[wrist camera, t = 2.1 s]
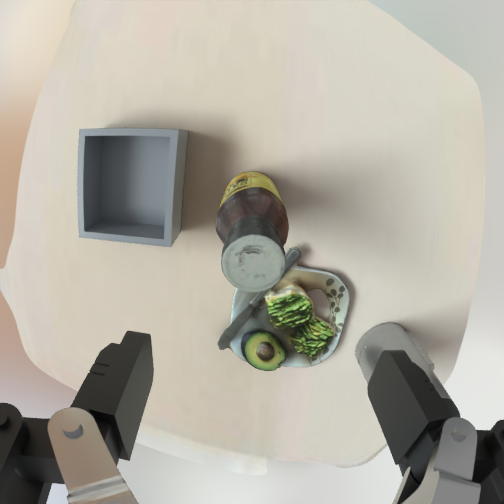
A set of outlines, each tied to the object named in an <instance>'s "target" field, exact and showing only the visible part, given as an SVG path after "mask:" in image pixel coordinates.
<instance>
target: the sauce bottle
mask: <svg viewBox="0 0 504 504" xmlns="http://www.w3.org/2000/svg"><path fill="white" fill-rule="evenodd" d="M288 229H289V224H288V218H287V214H286V210H285V207H284V205H283V202H282V200H281V198H280V196H279V193H278V191H277V188H276V187H275V185H274V183H273V182H272V181H271V180H270V179H269V178H268V177H267V176H265V175H263V174H262V173H259V172H243V173H241V174H239V175H237V176H236V177H234V178H233V179H232V180H231V181H230V183H229V184H228V186H227V188H226V190H225V193H224V196H223V198H222V201H221V204H220V207H219V209H218V212H217V216H216V231H217V234H218V235H219V237H220V239H221V240H222V242H223V243H224V247H223V251H222V261H221V263H222V271H223V273H224V275H225V277H226V278H227V280H228V281H229V282H230V283H231V284H232V285H233V286H234V287H236V288H237V289H239V290H242V291H246V292H260V291H266V290H267V289H270V288H272V287H273V286H274V285H276V284H277V283H278V282H279V281H280V279H281V278H282V276H283V274H284V271H285V269H286V256H285V251H284V247H283V246H284V244H285V243H286V240H287V236H288Z"/></svg>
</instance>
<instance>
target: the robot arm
mask: <svg viewBox="0 0 504 504" xmlns="http://www.w3.org/2000/svg"><path fill="white" fill-rule="evenodd" d="M356 358H357V361H358V363H359V365H360V367H361V370H362V372H363V374H364V377H365V379H366V381H367V383H368V396H369V399H370V401H371V404H372V406H373V409H374V411H375V414H376V416H377V418H378V421H379V423H380V426H381V428H382V431H383V433H384V436H385V438H386V441H387V444H388V446H389V448H390V451H391V454H392V456H393V459H394V462H395V464H396V465H397V464H399V467H400V470H401V473H402V476H403V479H402V482H401V485H400V487H399V489H398V492H397V494H396V497H395V499H394V502H393V504H504V420H500V421H498V422H497V423H496V424H495V425H494V426H493V428H492V429H491V430H489V431H488V430H476V429H475V427H474V426H473V425H472V424H471V423H470V422H469V421H467V420H465V419H463V418H460V413H459V411H458V409H457V407H456V405H455V404H454V402H453V401H452V399H451V398H450V396H449V395H448V393H447V392H446V390H445V389H444V387H443V386H442V384H441V383H440V381H439V380H438V378H437V377H436V375H435V374H434V372H433V370H434V364H433V363H432V361H431V360H430V359H429V357H428V356H427V354H426V353H425V352H424V350H423V349H422V347H421V346H420V345H419V343H418V342H417V340H416V339H415V338H414V336H413V335H412V334H411V332H410V331H405V330H404V329H403V328H402V327H401V326H400V325H398V324H394V323H385V324H381V325H378V326H376V327H374V328H372V329H371V330H370V331H368V332H367V333H366V334H365V335H364V336H363V337H362V338H361V340H360V341H359V343H358V345H357V348H356ZM153 373H154V368H153V357H152V345H151V336H150V334H146V333H140V332H134V331H127V332H126V334H125V336H124V338H123V340H122V342H121V343H120V344H115V343H111V344H109V345H108V346H107V347H105V348H104V349H103V350H101V351H100V353H99V355H98V357H97V358H96V360H95V363H94V364H93V366H92V367H91V369H90V373H88V375H87V377H86V378H85V380H84V382H83V384H82V386H81V388H80V390H79V391H78V393H77V395H76V397H75V399H74V401H73V403H72V405H71V407H70V408H64V409H61V410H59V411H57V412H56V413H55V414H53V416H52V417H51V418H50V419H40V418H26V417H22V415H21V413H20V412H19V410H18V409H17V408H16V407H15V406H13V405H11V404H8V403H0V504H46V502H47V499H48V495H49V492H50V489H51V485H52V483H58V484H65V485H66V487H67V490H68V493H69V495H68V496H67V500H68V503H69V504H138V502H137V500H136V499H135V497H134V495H133V494H132V492H131V490H130V489H129V487H128V485H127V483H126V482H125V480H124V479H123V477H122V476H121V474H120V472H119V470H118V468H117V464H118V460H119V458H120V459H124V460H128V461H129V460H130V457H131V454H132V450H133V446H134V443H135V439H136V436H137V432H138V429H139V426H140V422H141V419H142V415H143V412H144V409H145V406H146V402H147V399H148V396H149V393H150V389H151V386H152V382H153Z"/></svg>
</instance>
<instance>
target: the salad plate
mask: <svg viewBox="0 0 504 504" xmlns="http://www.w3.org/2000/svg"><path fill="white" fill-rule="evenodd" d="M285 256H286V269H285V271H284V274H283V276H282V278H281V279H280V281H279V282H278V283H277V284H276V285H274V286H273V287H272V288H270V289H267V290H266V291H260V292H246V291H242V290H239V289H237V288H236V291H235V294H234V298H233V303H232V313H231V323H230V326H229V327H228V328H227V329H226V330H225V331H224V333H223V334H222V335H221V337H220V339H219V341H218V346H219V349H220V350H224V349H225V348H230V349H231V350H232V351H233V352H234V353H235V354H236V355H237V356H238V357H239V358H240V359H242V360H244V361H246V362H248V363H249V364H250V365H252V366H253V367H255V368H257V369H260V370H264V371H273V370H276V369H277V368H280V367H281V366H285V367H310V366H314V365H316V364H318V363H320V362H322V361H323V360H325V359H326V358H327V357H329V356H330V355H331V354H332V353H333V352H334V350H335V348H336V347H337V344H338V341H339V338H340V335H341V332H342V328H343V325H344V321H345V318H346V316H347V311H348V306H349V302H350V296H349V292H348V289H347V286H346V285H345V284H344V282H343V281H342V280H341V278H340V277H339V276H338V275H337V274H334V273H331V272H327V271H322V270H318V269H312V268H304V267H301V266H298V265H297V261H298V260H299V259H300V257H301V251H300V250H299V249H298V248H296V247H292V248H290V249H289V250H288V251H287V253H286V254H285ZM313 289H321V290H322V291H323V292H324V293H325V295H326V296H327V299H328V301H329V304H330V315H329V322H328V323H327V322H326V321H324V320H322V319H321V318H319V317H317V316H315V312H314V304H313V301H312V299H311V298H310V297H309V296H308V295H307V294H306V292H307V291H309V290H313ZM259 306H263V309H258V307H259Z"/></svg>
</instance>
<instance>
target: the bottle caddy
mask: <svg viewBox="0 0 504 504" xmlns="http://www.w3.org/2000/svg"><path fill="white" fill-rule="evenodd" d="M188 132H189V131H186V130H177V129H150V128H98V129H80V130H79V146H78V178H77V195H78V227H79V237H80V238H89V239H99V240H108V241H117V242H127V243H136V244H146V245H155V246H165V247H171V246H172V245H173V243H174V241H175V240H176V238H177V237H178V235H179V234H180V232H181V219H182V203H183V188H184V175H185V163H186V152H187V142H188Z"/></svg>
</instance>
